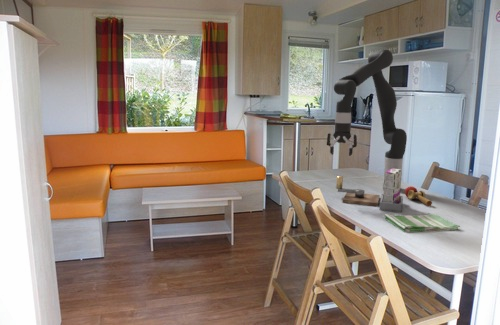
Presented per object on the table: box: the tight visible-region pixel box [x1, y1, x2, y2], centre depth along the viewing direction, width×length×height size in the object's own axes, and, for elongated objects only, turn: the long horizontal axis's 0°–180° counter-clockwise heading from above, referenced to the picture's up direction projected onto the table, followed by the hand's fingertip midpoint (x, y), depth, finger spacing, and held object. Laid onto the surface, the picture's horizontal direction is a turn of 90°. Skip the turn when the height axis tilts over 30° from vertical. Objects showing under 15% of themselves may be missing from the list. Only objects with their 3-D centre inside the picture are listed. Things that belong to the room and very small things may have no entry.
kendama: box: [404, 186, 433, 207], centre depth 197 cm, size 8×6×18 cm
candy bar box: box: [383, 169, 403, 204], centre depth 185 cm, size 11×5×16 cm, turn 146°
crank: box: [335, 175, 365, 198], centre depth 198 cm, size 14×4×9 cm, turn 69°
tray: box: [379, 193, 404, 213], centre depth 187 cm, size 10×16×4 cm, turn 159°
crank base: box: [342, 192, 381, 207], centre depth 197 cm, size 16×16×2 cm
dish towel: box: [384, 213, 461, 233], centre depth 162 cm, size 18×23×3 cm
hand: (341, 155), depth 197 cm, fingers open, 8 cm apart
